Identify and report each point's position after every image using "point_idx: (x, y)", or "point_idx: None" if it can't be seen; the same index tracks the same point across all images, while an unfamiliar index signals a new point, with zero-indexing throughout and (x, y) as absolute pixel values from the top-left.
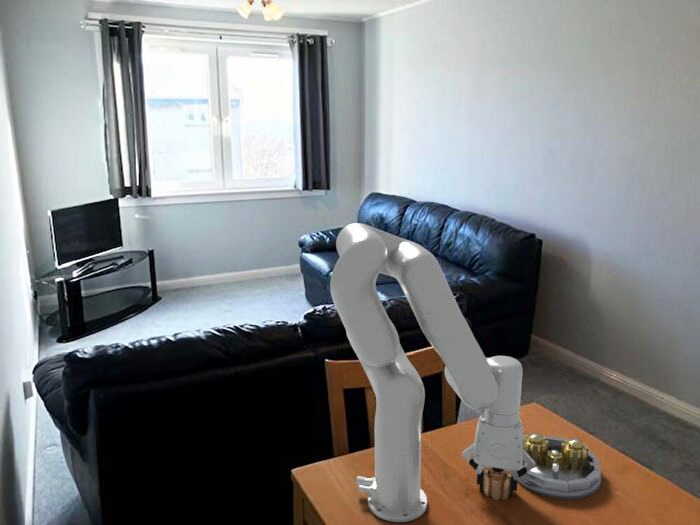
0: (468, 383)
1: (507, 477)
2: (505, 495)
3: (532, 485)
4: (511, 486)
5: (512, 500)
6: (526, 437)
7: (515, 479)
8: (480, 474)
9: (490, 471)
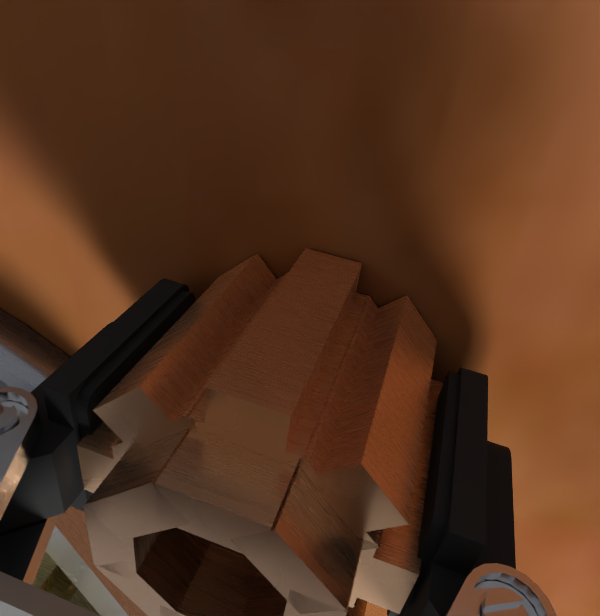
0: None
1: (115, 444)
2: (224, 280)
3: (17, 376)
4: (119, 341)
5: (181, 244)
6: None
7: (22, 399)
8: (476, 553)
9: (311, 574)
